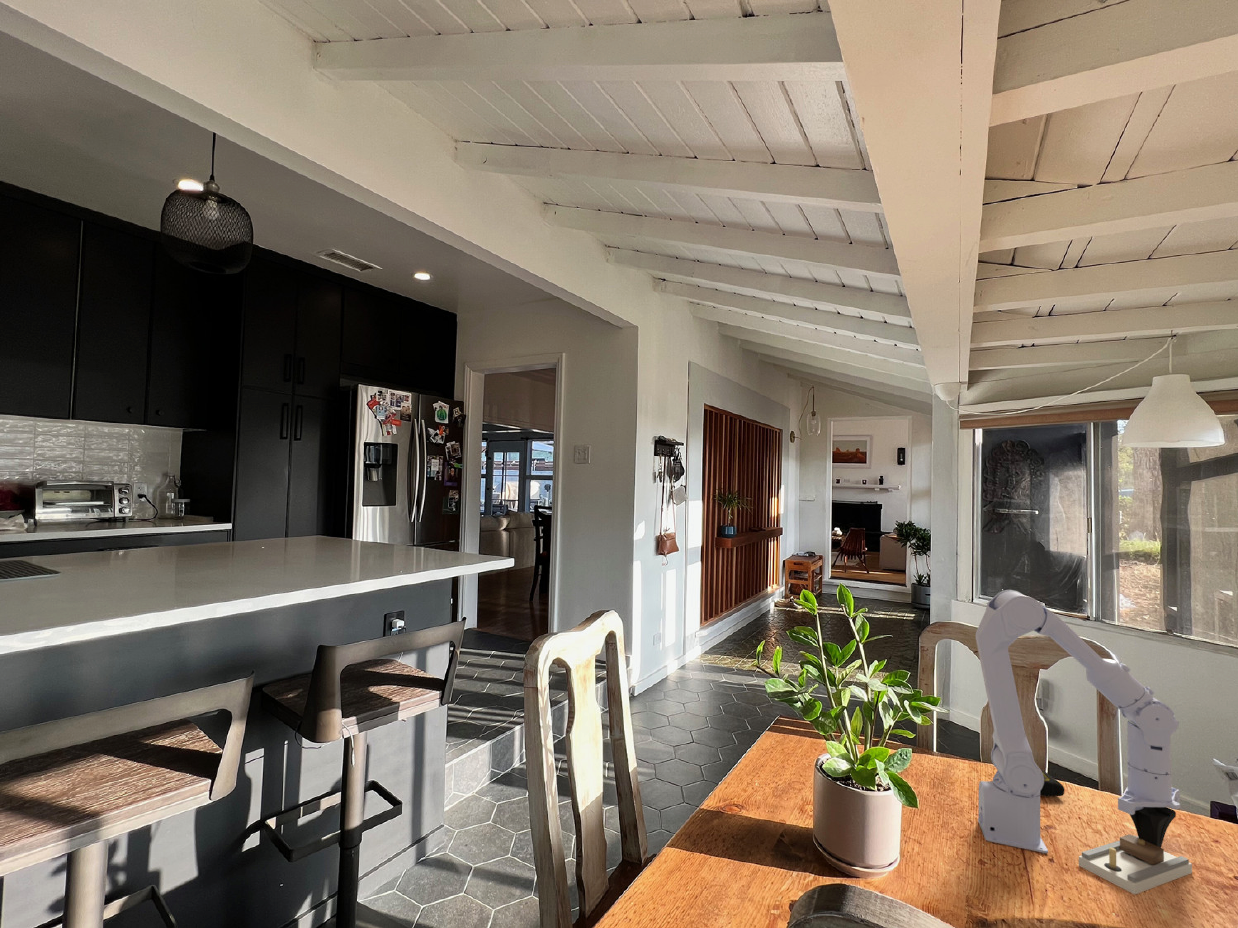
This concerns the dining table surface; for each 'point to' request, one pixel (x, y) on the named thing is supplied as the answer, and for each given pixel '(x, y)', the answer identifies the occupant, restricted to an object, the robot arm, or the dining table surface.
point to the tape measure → (1051, 786)
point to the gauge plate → (1132, 868)
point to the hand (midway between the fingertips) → (1150, 849)
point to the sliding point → (1142, 849)
